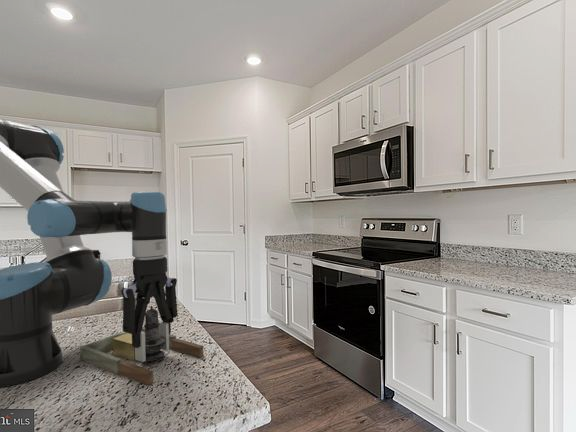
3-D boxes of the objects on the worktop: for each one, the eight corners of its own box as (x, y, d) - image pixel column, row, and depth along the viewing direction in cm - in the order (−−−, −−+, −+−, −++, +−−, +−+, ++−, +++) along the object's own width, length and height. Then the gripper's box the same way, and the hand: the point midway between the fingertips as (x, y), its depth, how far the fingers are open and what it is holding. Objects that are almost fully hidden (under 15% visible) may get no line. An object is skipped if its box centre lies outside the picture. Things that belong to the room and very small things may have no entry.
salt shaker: (157, 348, 81) (156, 300, 81) (170, 354, 77) (169, 304, 77) (134, 357, 77) (133, 306, 76) (147, 364, 73) (145, 311, 73)
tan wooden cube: (134, 361, 77) (133, 344, 77) (123, 357, 79) (123, 341, 79) (148, 354, 81) (148, 338, 81) (137, 351, 83) (137, 335, 83)
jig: (146, 386, 66) (146, 371, 66) (80, 359, 78) (80, 346, 78) (204, 355, 79) (204, 343, 79) (139, 336, 92) (139, 326, 92)
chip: (123, 357, 79) (122, 341, 79) (112, 354, 81) (112, 338, 81) (137, 351, 83) (137, 335, 83) (127, 348, 85) (127, 333, 84)
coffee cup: (85, 271, 193) (85, 250, 193) (101, 270, 197) (101, 249, 197) (83, 274, 185) (82, 251, 185) (100, 273, 189) (99, 250, 189)
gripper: (122, 264, 67) (125, 376, 67) (191, 253, 83) (193, 343, 83) (101, 262, 70) (104, 367, 71) (171, 251, 87) (173, 337, 87)
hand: (152, 354), depth 77 cm, fingers closed on salt shaker, 6 cm apart
